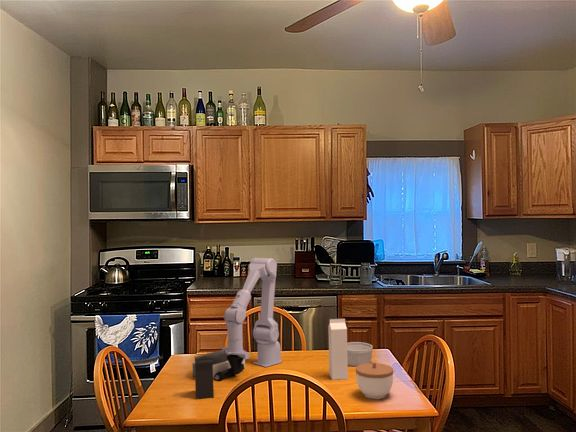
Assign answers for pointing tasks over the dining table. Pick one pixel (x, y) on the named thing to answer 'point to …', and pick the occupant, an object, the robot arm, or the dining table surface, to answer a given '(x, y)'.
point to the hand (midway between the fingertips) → (235, 374)
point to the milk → (338, 349)
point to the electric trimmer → (225, 374)
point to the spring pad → (223, 366)
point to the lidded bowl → (374, 379)
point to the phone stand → (204, 378)
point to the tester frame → (215, 356)
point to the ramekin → (358, 353)
